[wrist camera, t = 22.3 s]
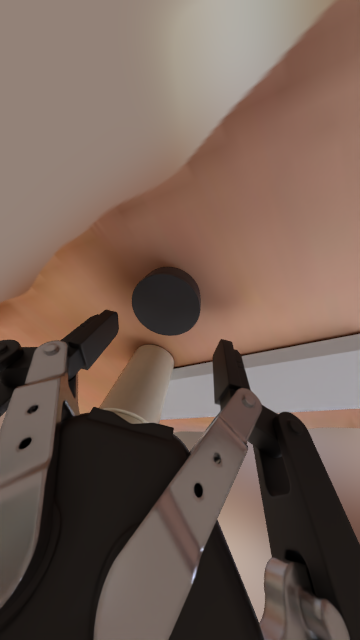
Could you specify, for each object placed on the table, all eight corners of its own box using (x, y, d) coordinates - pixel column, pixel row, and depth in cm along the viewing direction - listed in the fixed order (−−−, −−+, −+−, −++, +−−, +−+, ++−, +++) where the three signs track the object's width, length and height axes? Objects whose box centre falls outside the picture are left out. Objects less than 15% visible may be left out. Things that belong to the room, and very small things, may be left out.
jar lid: (206, 318, 17) (206, 331, 15) (154, 327, 18) (148, 340, 16) (191, 258, 13) (189, 264, 11) (130, 276, 15) (118, 284, 13)
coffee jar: (149, 336, 20) (94, 429, 10) (182, 363, 21) (162, 466, 11) (127, 358, 23) (68, 446, 13) (157, 380, 24) (125, 473, 14)
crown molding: (363, 332, 15) (402, 358, 12) (349, 394, 21) (373, 422, 18) (142, 375, 25) (134, 395, 22) (173, 409, 30) (170, 429, 27)
